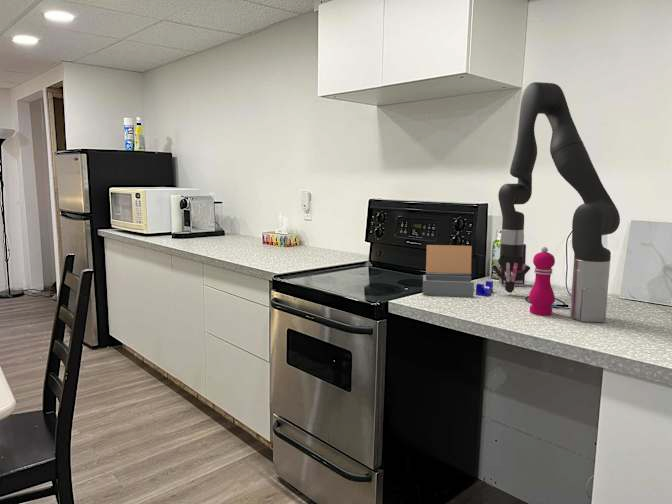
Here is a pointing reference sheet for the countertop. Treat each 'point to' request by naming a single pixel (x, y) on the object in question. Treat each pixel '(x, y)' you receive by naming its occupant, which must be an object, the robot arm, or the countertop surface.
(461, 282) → the grey open box
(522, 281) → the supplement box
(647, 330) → the countertop surface
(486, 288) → the cable holder
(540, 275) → the pepper mill
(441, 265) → the cover
